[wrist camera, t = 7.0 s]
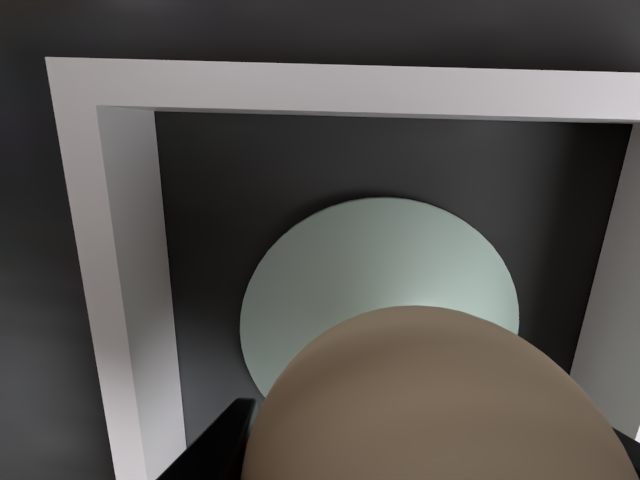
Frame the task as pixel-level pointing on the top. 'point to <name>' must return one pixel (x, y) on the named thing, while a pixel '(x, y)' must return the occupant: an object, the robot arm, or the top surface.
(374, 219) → the white square frame
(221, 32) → the top surface
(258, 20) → the top surface
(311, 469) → the wooden ball
